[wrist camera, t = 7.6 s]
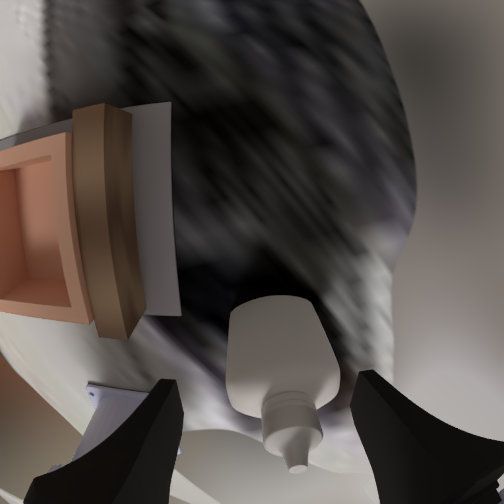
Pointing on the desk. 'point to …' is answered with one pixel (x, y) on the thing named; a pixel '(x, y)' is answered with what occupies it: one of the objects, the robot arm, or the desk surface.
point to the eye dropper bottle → (281, 373)
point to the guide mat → (144, 200)
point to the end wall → (107, 217)
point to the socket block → (41, 233)
